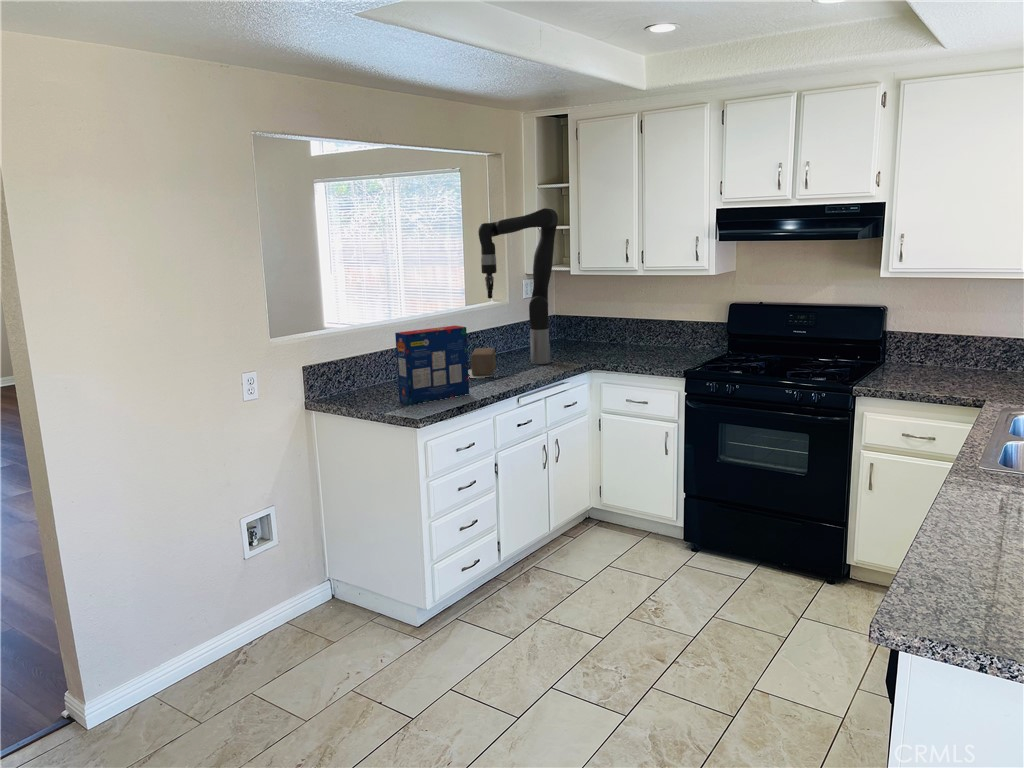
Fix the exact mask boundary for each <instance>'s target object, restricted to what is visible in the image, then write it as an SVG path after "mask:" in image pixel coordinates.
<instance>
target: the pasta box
mask: <svg viewBox="0 0 1024 768" xmlns="http://www.w3.org/2000/svg"><path fill="white" fill-rule="evenodd" d="M467 332H468V331H467V327H466V326H461V325H451V326H440V327H434V328H433V327H432V328H431V327H430V328H426V329H425V328H424V329H415V330H407V331H400V332H399V331H398V332H394V335H395V351H396V352H395V353H396V365H397V366H396V367H397V383H398V395H399V397H398V398H399V403H400V402H401V404H403V403H404V405H406V404H407V405H406V406H409V405H411V406H414V405H413V404H416V405H419V404H418V403H422V404H424V403H423V402H427V403H430V402H429V401H433V402H435V401H434V400H438V401H441V400H440V399H443V400H446V399H445V398H449V399H451V398H450V397H454V398H456V397H455V396H460V395H465V394H469V395H470V384H469V383H470V382H469V380H470V379H469V377H468V370H469V356H468V336H467V335H468V333H467ZM465 396H466V395H465ZM460 397H461V396H460Z"/></svg>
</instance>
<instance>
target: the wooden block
mask: <svg viewBox="0 0 1024 768" xmlns="http://www.w3.org/2000/svg"><path fill="white" fill-rule="evenodd" d="M470 360H471V362H470V363H471V369H472V375H473V376H485V375H493V373H494V370H495V368H497V367H496V366H497V365H496V363H497V361H496V349H495V347H479V348H478V347H477V348H474V350H473V351H472V354H471V357H470Z"/></svg>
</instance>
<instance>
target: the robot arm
mask: <svg viewBox="0 0 1024 768" xmlns="http://www.w3.org/2000/svg"><path fill="white" fill-rule="evenodd" d="M558 221H559V216H558V213H557V212H556V210H554V209H553V208H546V207H545V208H541V209H540V210H539V209H538V210H536V211H533V212H531V213H527V214H525V215H521V216H516V217H515V216H514V217H510V218H504V219H500V220H498V221H493V222H485V223H484V222H483V223H481V224H480V225H479V227H478V230H477V231H478V232H477V234H478V239H479V242H480V246H481V247H480V249H481V251H480V252H481V253H480V255H481V259H480V264H481V273H482V274H485V277H484V281H485V287H486V291H487V299H493V290H494V281H495V278H494V276H493V274H496V273H497V272H498V271H497V257H496V243H494V242H493V237H494V238H495V237H497V236H500V235H507V234H512V233H516V232H520V231H522V230H526V229H530V228H540V233H539V234H540V235H539V240H538V243H537V246H536V248H535V251H534V256H533V266H532V273H533V274H532V278H533V285H532V286H533V288H532V292H531V293H532V294H531V297H530V301H529V304H528V310H529V311H528V312H529V313H528V314H529V316H528V317H529V333H530V334H529V340H530V364H532V365H546V364H551V344H550V339H549V338H550V336H549V334H550V333H549V327H550V326H549V322H550V321H549V283H550V281H551V276H552V270H553V260H554V247H555V239H556V238H555V236H556V232H557V225H558Z"/></svg>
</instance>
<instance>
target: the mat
mask: <svg viewBox="0 0 1024 768" xmlns="http://www.w3.org/2000/svg"><path fill="white" fill-rule="evenodd" d="M468 374H469V375H470V376H469V377H470V378H477V379H486V378H485V377H489V376H490V375H487V376H486V375H485V376H473V375H472V368H470V369H468ZM495 375H496V374H495ZM494 378H499V377H498V375H497V376H496V377H495V376H494Z"/></svg>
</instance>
